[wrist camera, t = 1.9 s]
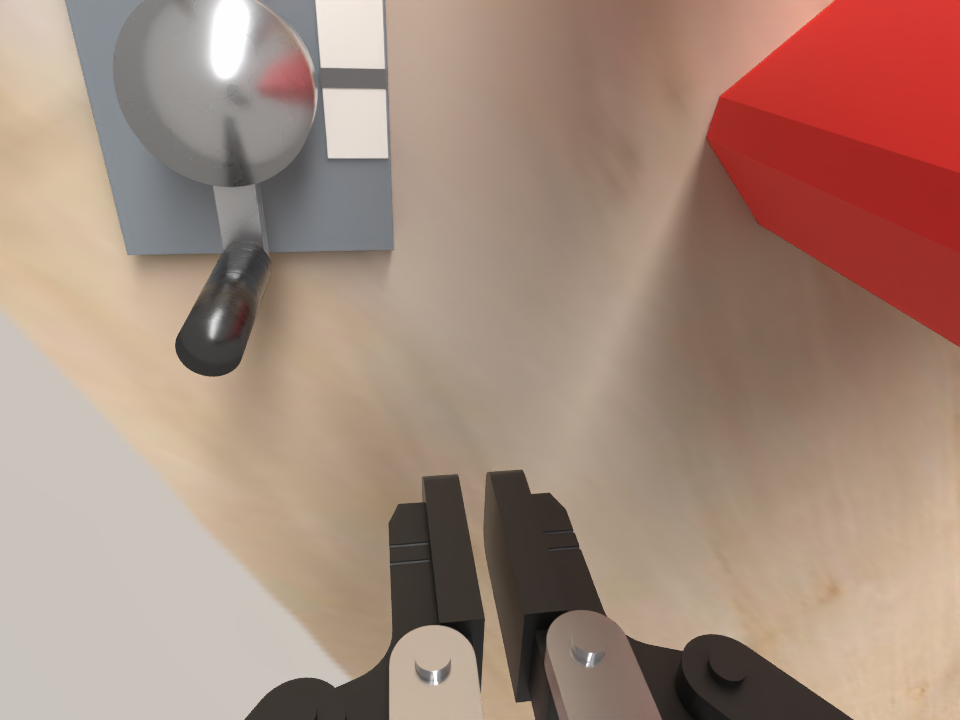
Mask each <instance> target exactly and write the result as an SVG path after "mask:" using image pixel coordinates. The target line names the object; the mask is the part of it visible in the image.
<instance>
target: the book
mask: <svg viewBox="0 0 960 720" xmlns="http://www.w3.org/2000/svg"><path fill="white" fill-rule="evenodd" d="M706 139H707V140H708V142H709V144H710V145H711V147H712V148H713V150H714V152H715V153H716V155H717V157H718V158H719V160H720V162H721V163H722V165H723V167H724V168H725V170H726V171H727V173H728V175H729V176H730V178H731V180H732V181H733V183H734V185H735V186H736V188H737V189H738V191H739V193H740V194H741V196H742V198H743V199H744V201H745V203H746V204H747V206H748V207H749V209H750V211H751V212H752V214H753V216H754V217H755V219H756V221H757V222H758V224H760V225H762V226H763V227H765V228H766V229H768V230H770V231H771V232H773V233H775V234H776V235H778V236H780V237H781V238H783V239H784V240H786V241H788V242H789V243H791V244H793V245H794V246H796V247H797V248H799V249H801V250H802V251H804V252H806V253H807V254H809V255H811V256H812V257H814V258H815V259H817V260H819V261H820V262H822V263H824V264H825V265H827V266H828V267H830V268H832V269H833V270H835V271H837V272H838V273H840V274H842V275H843V276H845V277H846V278H848V279H850V280H851V281H853V282H855V283H856V284H858V285H859V286H861V287H863V288H864V289H866V290H868V291H869V292H871V293H873V294H874V295H876V296H877V297H879V298H881V299H882V300H884V301H886V302H887V303H889V304H890V305H892V306H894V307H895V308H897V309H899V310H900V311H902V312H904V313H905V314H907V315H908V316H910V317H912V318H913V319H915V320H917V321H918V322H920V323H921V324H923V325H925V326H926V327H928V328H930V329H931V330H933V331H935V332H936V333H938V334H939V335H941V336H943V337H944V338H946V339H948V340H949V341H951V342H952V343H954V344H956V345H957V346H959V347H960V0H835V1H834V2H832V3H831V4H830V5H829V6H828V7H826V8H825V9H824V10H823V11H822V12H820V13H819V14H818V15H817V16H816V17H814V18H813V19H812V20H811V21H810V22H808V23H807V24H806V25H805V26H804V27H802V28H801V29H800V30H799V31H798V32H796V33H795V34H794V35H793V36H792V37H790V38H789V39H788V40H787V41H786V42H784V43H783V44H782V45H781V46H780V47H778V48H777V49H776V50H775V51H774V52H772V53H771V54H770V55H769V56H768V57H767V58H765V59H764V60H763V61H762V62H761V63H759V64H758V65H757V66H756V67H755V68H753V69H752V70H751V71H750V72H749V73H747V74H746V75H745V76H744V77H743V78H741V79H740V80H739V81H738V82H737V83H735V84H734V85H733V86H732V87H731V88H729V89H728V90H727V91H726V92H725V93H723V94H722V95H721V96H720V97H719V100H718V103H717V106H716V110H715V113H714V116H713V119H712V122H711V125H710V128H709V131H708V134H707V137H706Z"/></svg>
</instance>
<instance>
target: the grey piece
mask: <svg viewBox="0 0 960 720" xmlns="http://www.w3.org/2000/svg"><path fill="white" fill-rule="evenodd" d="M113 81H114V87H115V92H116V96H117V99H118V103H119V106H120V108H121V110H122V113H123V115H124V117H125V119H126V121H127V123H128V124H129V126H130V128H131V130H132V131H133V133H134V134H135V135H136V137H137V138H138V139H139V141H140V142H141V143H142V144H143V145H144V146H145V148H146V149H147V150H148V151H149V152H150V153H151V154H152V155H153V156H155V157H156V158H157V159H158V160H159V161H160V162H162V163H163V164H165V165H166V166H167V167H169V168H170V169H172V170H174V171H175V172H177V173H179V174H181V175H182V176H185V177H187V178H189V179H192V180H194V181H197V182H201V183H204V184H208V185H213V190H214V195H215V201H216V207H217V213H218V219H219V225H220V231H221V237H222V243H223V249H224V251H223V253H222V255H221V257H220V258H219V260H218V262H217V264H216V266H215V268H214V270H213V271H212V273H211V275H210V277H209V279H208V281H207V282H206V284H205V286H204V288H203V290H202V292H201V293H200V295H199V297H198V299H197V301H196V303H195V305H194V306H193V308H192V310H191V312H190V314H189V316H188V317H187V319H186V321H185V323H184V325H183V327H182V329H181V330H180V332H179V334H178V336H177V338H176V343H175V348H176V353H177V355H178V357H179V359H180V361H181V362H182V363H183V364H184V365H185V366H186V367H187V368H188V369H190V370H191V371H193V372H195V373H197V374H200V375H204V376H221V375H225V374H227V373H230V372H231V371H233V370H234V369H235V368H236V367H237V366H238V365H239V363H240V361H241V359H242V356H243V353H244V350H245V347H246V344H247V341H248V338H249V335H250V333H251V330H252V327H253V324H254V321H255V318H256V315H257V312H258V309H259V306H260V303H261V300H262V297H263V294H264V291H265V288H266V285H267V282H268V279H269V276H270V273H271V268H272V267H271V261H270V257H269V249H268V242H267V234H266V227H265V219H264V212H263V204H262V197H261V189H260V182H262V181H265V180H267V179H269V178H271V177H273V176H275V175H276V174H278V173H279V172H280V171H282V170H283V169H285V168H286V167H287V166H288V165H289V164H290V163H291V162H292V161H293V160H294V158H295V157H296V156H297V154H298V153H299V152H300V150H301V148H302V147H303V145H304V143H305V141H306V139H307V136H308V134H309V131H310V129H311V126H312V124H313V121H314V117H315V113H316V109H317V100H318V86H317V79H316V73H315V69H314V65H313V62H312V59H311V57H310V54H309V52H308V49H307V47H306V45H305V44H304V42H303V40H302V38H301V37H300V35H299V34H298V32H297V31H296V29H295V28H294V27H293V25H292V24H291V23H290V22H289V21H288V20H287V19H286V18H285V16H283V15H282V14H281V13H280V12H279V11H278V10H277V9H276V8H275V7H273V6H272V5H270V4H269V3H268V2H266V1H265V0H144V1H143V2H142V3H140V4H139V5H138V6H137V7H136V8H135V9H134V10H133V12H132V13H131V14H130V15H129V16H128V18H127V20H126V21H125V23H124V24H123V26H122V28H121V31H120V33H119V35H118V38H117V41H116V45H115V49H114V56H113Z"/></svg>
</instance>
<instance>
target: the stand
mask: <svg viewBox="0 0 960 720" xmlns="http://www.w3.org/2000/svg"><path fill="white" fill-rule="evenodd" d="M143 1H144V0H65V2H66V6H67V11H68V15H69V19H70V23H71V27H72V31H73V35H74V39H75V43H76V47H77V51H78V55H79V59H80V63H81V67H82V71H83V76H84V80H85V84H86V88H87V92H88V96H89V100H90V104H91V108H92V112H93V116H94V120H95V124H96V128H97V132H98V136H99V141H100V145H101V149H102V153H103V157H104V161H105V165H106V169H107V173H108V177H109V181H110V185H111V189H112V193H113V197H114V201H115V205H116V210H117V214H118V218H119V222H120V226H121V230H122V234H123V238H124V242H125V246H126V250H127V254H128V255H162V254H212V253H223V251H224V249H223V243H222V237H221V231H220V225H219V219H218V213H217V207H216V201H215V195H214V190H213V185H208V184H204V183H201V182H197V181H194V180H192V179H189V178H187V177H185V176H182V175H181V174H179V173H177V172H175V171H174V170H172V169H170V168H169V167H167V166H166V165H165V164H163V163H162V162H160V161H159V160H158V159H157V158H156V157H155V156H153V155H152V154H151V153H150V152H149V151H148V150H147V149H146V148H145V146H144V145H143V144H142V143H141V142H140V141H139V139H138V138H137V137H136V135H135V134H134V133H133V131H132V130H131V128H130V126H129V124H128V123H127V121H126V119H125V117H124V115H123V113H122V110H121V108H120V106H119V103H118V99H117V96H116V92H115V87H114V81H113V56H114V49H115V45H116V41H117V38H118V35H119V33H120V31H121V28H122V26H123V24H124V23H125V21H126V20H127V18H128V16H129V15H130V14H131V13H132V12H133V10H134V9H135V8H136V7H137V6H138V5H139V4H140V3H142V2H143ZM265 1H266V2H268V3H269V4H270V5H272V6H273V7H275V8H276V9H277V10H278V11H279V12H280V13H281V14H282V15H283V16H285V18H286V19H287V20H288V21H289V22H290V23H291V24H292V25H293V27H294V28H295V29H296V31H297V32H298V34H299V35H300V37H301V38H302V40H303V42H304V44H305V45H306V47H307V49H308V52H309V54H310V57H311V59H312V62H313V65H314V69H315V73H316V79H317V86H318V100H317V109H316V113H315V117H314V121H313V124H312V126H311V129H310V131H309V134H308V136H307V139H306V141H305V143H304V145H303V147H302V148H301V150H300V152H299V153H298V154H297V156H296V157H295V158H294V160H293V161H292V162H291V163H290V164H289V165H288V166H287V167H286V168H285V169H283V170H282V171H280V172H279V173H278V174H276V175H275V176H273V177H271V178H269V179H267V180H265V181H262V182H260V189H261V197H262V204H263V212H264V219H265V227H266V234H267V242H268V249H269V252H313V251H364V250H394V247H393V218H392V189H391V159H390V130H389V100H388V71H387V41H386V12H385V0H265Z"/></svg>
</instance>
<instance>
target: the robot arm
mask: <svg viewBox="0 0 960 720" xmlns="http://www.w3.org/2000/svg"><path fill="white" fill-rule="evenodd" d="M422 496H423V502H421V503H408V504H398V506H397V508H396V510H395V512H394V514H393V516H392V518H391V520H390V522H389V547H390V574H391V600H392V627H393V632H392V640H391V644H390V647H389V649H388V651H387V653H386V654H385V656H384V658H383V659H382V660H381V661H380V662H379V664H378V665H376V666H375V667H374V668H373V669H372V670H371V671H369V672H368V673H366V674H365V675H363V676H361V677H359V678H357V679H354V680H352V681H350V682H348V683H346V684H343V685H341V686H338V687H336V688H334V687H333V686H332V685H330V684H329V683H327V682H325V681H323V680H320V679H316V678H298V679H294V680H290V681H288V682H285V683H283V684H281V685H279V686H278V687H276V688H274V689H273V690H272V691H270V692H269V693H268V694H267V695H266V696H265V697H264V698H263V699H262V700H261V701H260V702H259V703H258V704H257V706H256V707H255V708H254V709H253V710H252V711H251V713H250V714H249V715H248V716H247V717H246V718H245V720H484V717H483V710H482V702H481V677H482V659H483V641H484V622H485V618H484V612H483V607H482V601H481V596H480V590H479V585H478V579H477V574H476V569H475V563H474V558H473V552H472V547H471V541H470V536H469V530H468V525H467V520H466V514H465V509H464V503H463V498H462V492H461V487H460V481H459V477H458V474H454V475H440V476H425V477H423V478H422ZM484 546H485V554H486V560H487V565H488V570H489V574H490V579H491V584H492V589H493V594H494V599H495V604H496V608H497V613H498V618H499V623H500V628H501V633H502V638H503V643H504V647H505V652H506V657H507V662H508V667H509V672H510V677H511V681H512V686H513V691H514V696H515V701H516V703H517V702H525V701H531V702H532V707H533V711H534V715H535V720H853V719H852V718H850V717H849V716H847V715H846V714H845V713H843V712H842V711H840V710H839V709H837V708H836V707H834V706H833V705H831V704H830V703H828V702H827V701H826V700H824V699H823V698H821V697H820V696H818V695H817V694H815V693H814V692H812V691H811V690H810V689H808V688H807V687H805V686H804V685H802V684H801V683H799V682H798V681H796V680H795V679H794V678H792V677H791V676H789V675H788V674H786V673H785V672H783V671H782V670H780V669H779V668H778V667H776V666H775V665H773V664H772V663H770V662H769V661H767V660H766V659H764V658H763V657H762V656H760V655H759V654H757V653H756V652H754V651H753V650H751V649H750V648H748V647H747V646H745V645H744V644H742V643H740V642H739V641H736V640H734V639H732V638H729V637H726V636H722V635H714V634H709V635H702V636H699V637H696V638H694V639H692V640H691V641H690V642H689V643H688V644H687V645H686V647H685V648H684V650H683V651H679V650H674V649H669V648H664V647H658V646H653V645H649V644H645V643H642V642H639V641H636V640H634V639H632V638H630V637H628V636H627V635H625V633H624V632H623V631H622V629H621V628H620V627H619V626H618V625H617V624H616V623H615V622H614V621H612V620H611V619H610V618H608V617H607V615H606V614H605V612H604V610H603V607H602V605H601V602H600V599H599V597H598V594H597V591H596V589H595V586H594V583H593V581H592V578H591V575H590V573H589V570H588V567H587V565H586V562H585V559H584V557H583V554H582V551H581V550H580V549H579V543H578V541H577V538H576V535H575V533H573V527H572V525H571V522H570V519H569V517H568V514H567V512H566V509H565V508H564V507H563V506H562V505H561V504H560V503H559V502H558V501H557V500H556V499H555V498H554V497H553V496H552V495H551V494H550V493H540V494H531V493H530V490H529V486H528V483H527V480H526V477H525V474H524V472H523V470H510V471H496V472H487V475H486V487H485V507H484Z"/></svg>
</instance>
